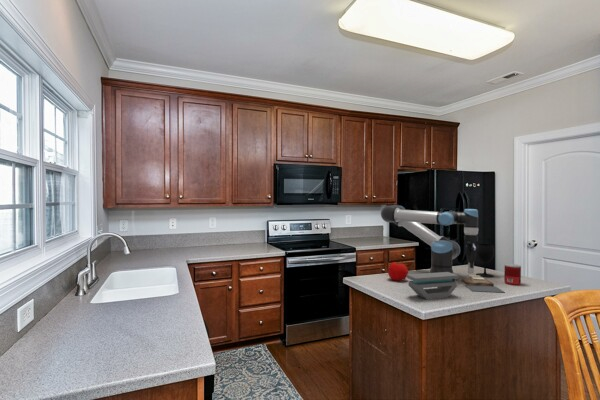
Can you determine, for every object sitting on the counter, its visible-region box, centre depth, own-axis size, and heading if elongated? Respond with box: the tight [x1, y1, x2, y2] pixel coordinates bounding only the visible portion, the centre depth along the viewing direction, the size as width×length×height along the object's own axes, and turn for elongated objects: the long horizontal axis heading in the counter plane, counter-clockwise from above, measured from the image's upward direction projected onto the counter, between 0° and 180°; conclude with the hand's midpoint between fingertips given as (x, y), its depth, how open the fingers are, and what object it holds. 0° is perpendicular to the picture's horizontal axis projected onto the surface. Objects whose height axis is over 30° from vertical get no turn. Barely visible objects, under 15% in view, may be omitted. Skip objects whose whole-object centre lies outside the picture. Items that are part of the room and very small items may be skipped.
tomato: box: [388, 261, 409, 282], centre depth 195 cm, size 12×12×11 cm
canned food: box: [504, 263, 522, 286], centre depth 188 cm, size 8×8×11 cm
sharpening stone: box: [406, 272, 460, 301], centre depth 163 cm, size 25×8×11 cm, turn 105°
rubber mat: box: [464, 284, 506, 294], centre depth 176 cm, size 16×11×1 cm
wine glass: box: [475, 243, 496, 279], centre depth 207 cm, size 10×10×20 cm
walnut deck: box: [460, 277, 495, 286], centre depth 187 cm, size 14×10×2 cm
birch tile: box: [467, 274, 487, 283], centre depth 187 cm, size 9×6×2 cm, turn 171°
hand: (470, 272), depth 196 cm, fingers closed
